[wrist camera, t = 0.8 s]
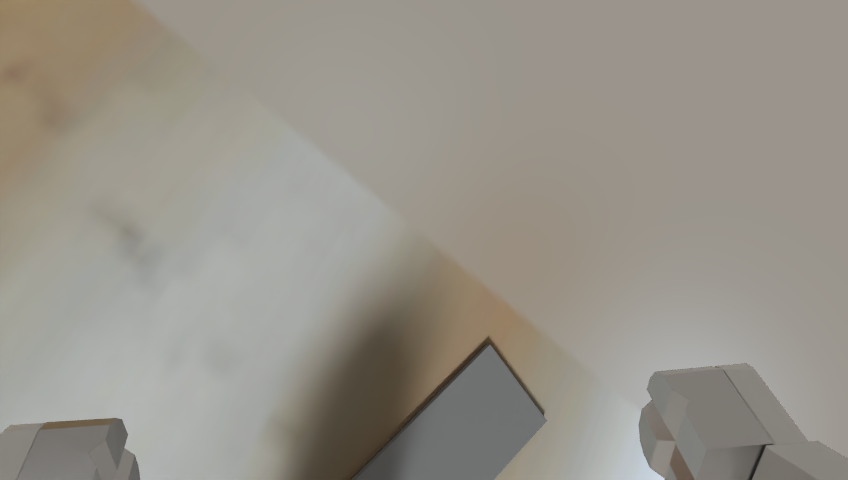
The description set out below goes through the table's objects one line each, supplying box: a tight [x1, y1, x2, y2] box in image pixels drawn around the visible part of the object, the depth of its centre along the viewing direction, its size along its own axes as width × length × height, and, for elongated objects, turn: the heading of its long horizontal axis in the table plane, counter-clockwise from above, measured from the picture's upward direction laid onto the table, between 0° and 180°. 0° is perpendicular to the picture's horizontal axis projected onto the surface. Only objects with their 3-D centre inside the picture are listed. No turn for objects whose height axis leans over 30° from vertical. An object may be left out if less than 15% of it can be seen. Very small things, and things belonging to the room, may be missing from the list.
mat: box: [351, 344, 547, 480], centre depth 51 cm, size 8×16×1 cm, turn 128°
